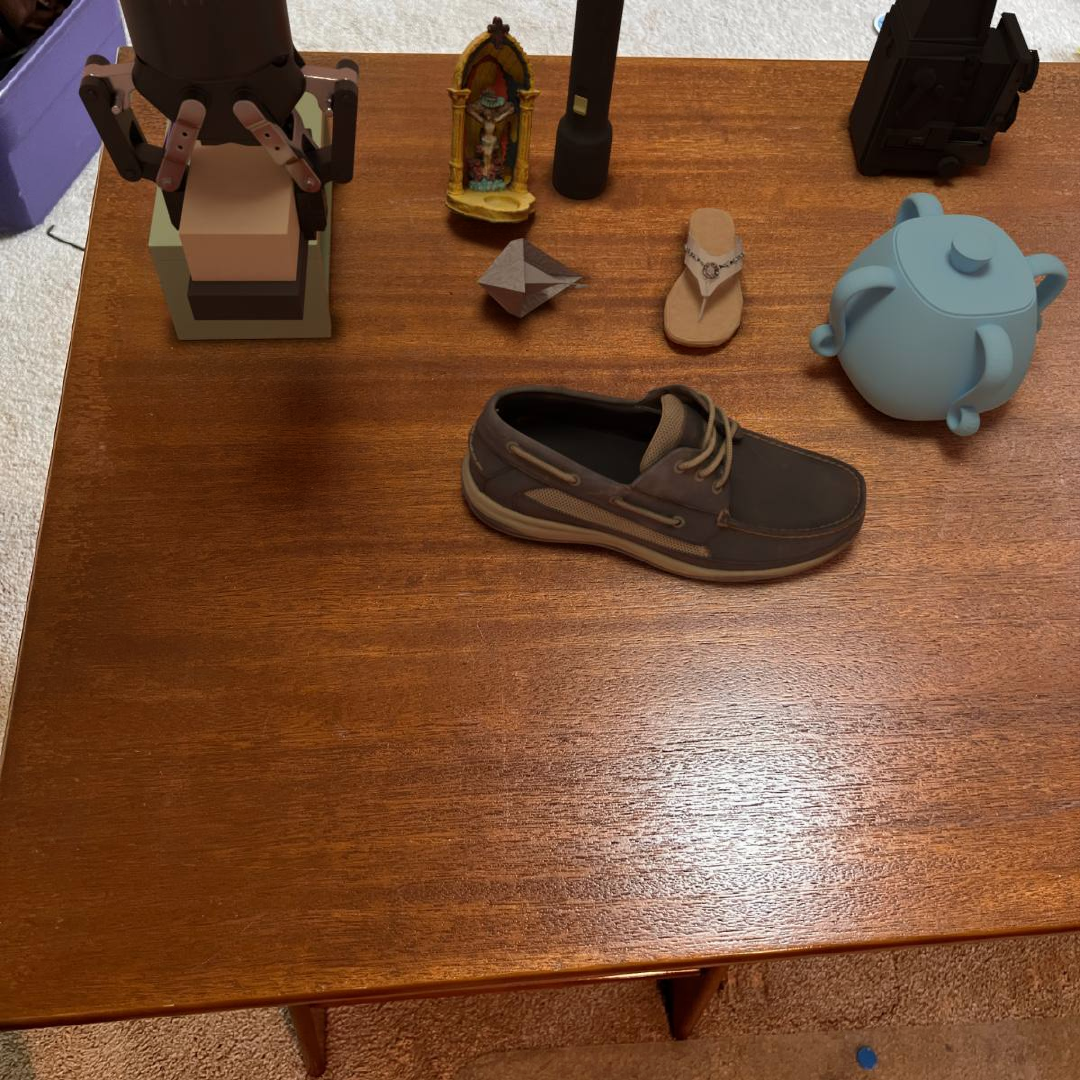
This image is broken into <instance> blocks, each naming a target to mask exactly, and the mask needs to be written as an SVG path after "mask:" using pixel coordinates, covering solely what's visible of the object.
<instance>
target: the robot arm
mask: <svg viewBox="0 0 1080 1080" xmlns="http://www.w3.org/2000/svg"><path fill="white" fill-rule="evenodd" d="M119 4H120V7H121V11H122V14H123V18H124V21H125V26H126V29H127V32H128V35H129V39H130V43H131V46H132V50H133V52H134V58H133V59H134V60H133V61H131V62H130V61H129V62H121V63H120V62H119V63H111V61H110V60H109V59H108V58H107V57H105V56H104V55H101V54H98V53H97V54H95V53H94V54H93V53H92V54H91V55H88V57H86V60H85V63H84V64H85V65H84V68H83V72H82V75H81V80H80V84H79V89H78V96H79V99H80V101H81V102H82V104H83V106H84V109H85V110H86V112H87V113H88V116H89V118H90V120H91V122H92V124H93V126H94V127H95V129H96V131H97V133H98V136H99V137H100V139H101V142H102V143H103V145H104V147H105V149H106V151H107V153H108V155H109V157H110V159H111V161H112V162H113V165H114V167H115V169H116V171H117V173H118V175H119V176H120V177H121V178H122V179H123V180H125V181H127V182H130V183H136V182H137V183H138V182H139V181H141V180H142V179H144V180H148V181H150V182H153V183H154V184H156V186H157V185H158V187H159V188H161V190H162V194H163V197H164V200H165V204H166V207H167V209H168V214H169V217H170V220H171V224H172V225H173V226H174V227H175V229H176V230H177V231H179V227H180V221H181V215H182V209H183V202H184V196H185V190H186V184H187V177H188V171H189V165H188V163H189V160H190V157H191V154H192V151H193V148H194V145H195V142H196V140H199V141H200V142H201V146H217V145H222V144H226V143H236V144H240V145H245V146H263V148H264V149H265V150H266V151H267V153H268V154H269V155H270V157H271V158H272V159H273V160H274V162H275V163H276V164H277V165H278V166H279V167H281V166H284V167H285V169H286V170H287V171H288V173H289V174H290V175H291V176H292V178H293V179H294V180H295V182H296V183H297V187H296V196H297V202H298V208H299V214H300V220H301V226H302V232H303V233H304V238H305V240H317V231H325V228H326V226H327V215H328V205H327V197H326V190H325V184H327V183H328V182H331V181H335V182H334V183H337V184H340V185H347V184H350V182H351V181H353V178H354V168H355V152H356V137H357V136H356V135H357V122H358V121H357V120H358V106H359V88H360V87H359V86H360V66H359V65H358V63H357V62H356V61H354V60H352V59H349V58H344V59H341V60H339V61H338V62H337V63H336V65H335V68H333V67H325V66H317V65H310V64H307V62H306V61H305V59H304V58H303V57H302V55H301V53H299V51H298V49H297V48H296V46H295V44H294V41H293V36H292V35H293V34H292V29H291V22H290V16H289V9H288V8H289V7H288V2H287V0H119ZM134 91H137V92H138V94H139V95H140V96H141V97H143V98H144V99H145V100H146V101H148V103H149V104H150V105H151V106H152V107H154V108H155V109H156V110H157V111H158V112H160V113H161V114H162V115H163V116H164V117H165V118H166V119H167V118H168V119H169V120H170V124H169V127H168V131H167V134H166V137H165V136H164V138H165V140H164V139H163V144H162V147H161V146H158V145H154V144H151V143H149V142H148V140H147V139H146V136H145V134H144V132H143V130H142V127H141V125H140V123H139V121H138V119H137V117H136V115H135V112H134V111H133V108H132V106H131V105H132V101H133V96H134ZM305 92H309V93H311V94H312V95H314V96H315V97H316V99H317V102H318V106H319V108H320V110H321V111H323V112H324V114H325V116H327V117H329V118H332V127H331V129H332V131H331V138H332V145H328V146H325V147H322V148H319V147H318V146H317V144H316V143H315V141H314V140H313V139H312V137H311V136H310V135H309V133H308V132H307V130H306V129H305V127H304V124H303V120H302V118H301V116H300V114H299V113H298V111H297V110H296V108H295V106H296V105H297V103H298V102H299V100H300V99H301V98H302V96H303V95H304V93H305Z"/></svg>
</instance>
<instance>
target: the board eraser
mask: <svg viewBox="0 0 1080 1080" xmlns="http://www.w3.org/2000/svg"><path fill="white" fill-rule="evenodd" d="M305 129H306V130H307V132H308V133H309V135H310V136H311V137H312V130H311V128H305ZM312 139H313V138H312ZM296 187H297V183H296V182H295V180H294V179H293V178H292V176H291V175H290V174H289V173H288V171H287V170H286V169H285V167H284V166H281V167H279V166H278V165H277V164H276V163H275V162H274V160H273V159H272V158H271V157H270V155H269V154H268V153H267V151H266V150H265V149H264V148H263V146H245V145H240V144H236V143H226V144H222V145H217V146H201V142H200V141H199V140H196V142H195V145H194V148H193V151H192V154H191V159H190V165H189V171H188V177H187V184H186V190H185V196H184V202H183V209H182V215H181V221H180V227H179V236H180V240H181V243H182V247H183V250H184V253H185V257H186V260H187V264H188V267H189V271H190V278H189V285H188V292H187V297H188V300H189V304H190V307H191V310H192V313H193V317H194V320H303V315H304V301H305V286H306V272H307V258H308V244H309V240H305V238H304V233H303V232H302V226H301V220H300V214H299V208H298V202H297V196H296Z"/></svg>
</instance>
